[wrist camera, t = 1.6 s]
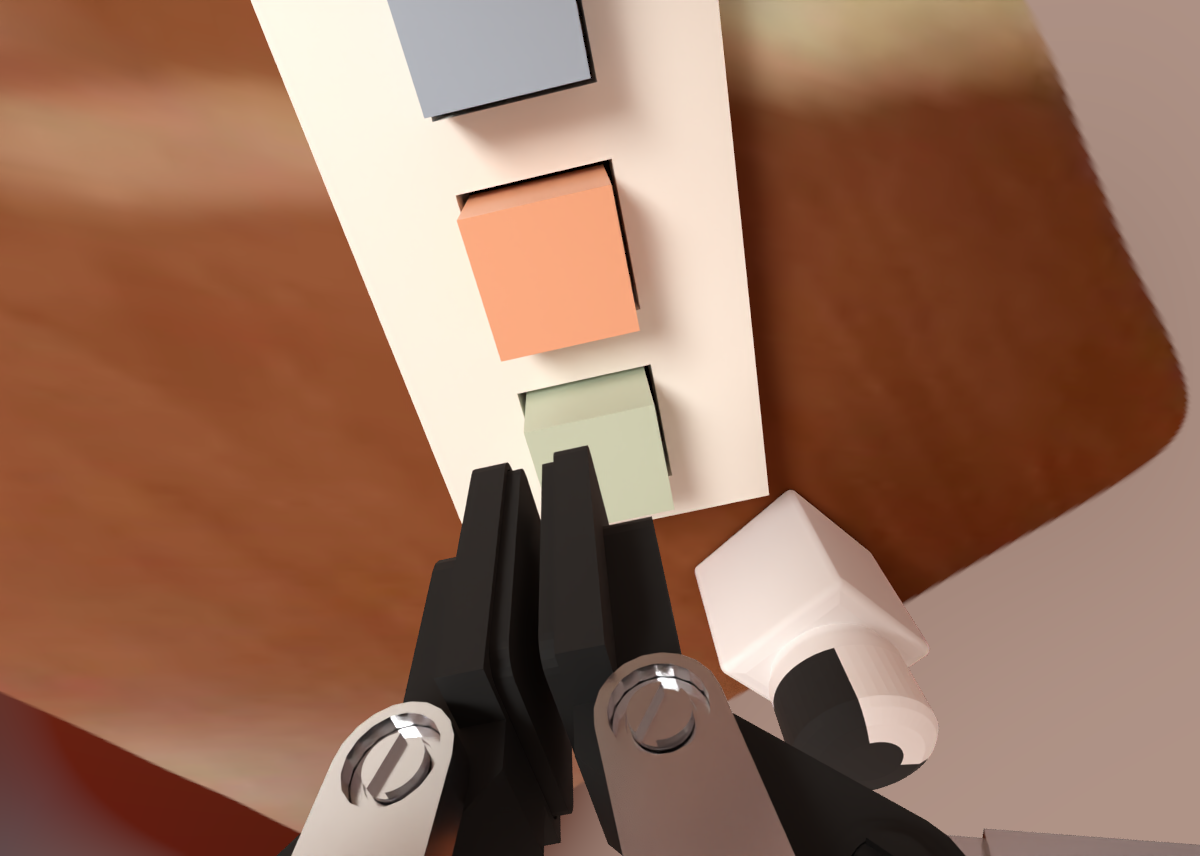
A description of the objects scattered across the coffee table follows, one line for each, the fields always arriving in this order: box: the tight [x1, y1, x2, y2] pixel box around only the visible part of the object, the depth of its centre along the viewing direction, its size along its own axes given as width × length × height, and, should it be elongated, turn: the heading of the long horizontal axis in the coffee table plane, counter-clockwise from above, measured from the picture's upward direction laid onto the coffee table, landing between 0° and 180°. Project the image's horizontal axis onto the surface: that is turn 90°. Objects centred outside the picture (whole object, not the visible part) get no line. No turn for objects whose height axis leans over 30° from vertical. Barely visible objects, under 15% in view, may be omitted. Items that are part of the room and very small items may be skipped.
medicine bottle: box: [695, 490, 939, 790], centre depth 32 cm, size 7×7×12 cm
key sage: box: [524, 366, 675, 523], centre depth 28 cm, size 5×5×4 cm
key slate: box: [387, 0, 591, 119], centre depth 20 cm, size 5×5×4 cm
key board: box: [251, 0, 769, 525], centre depth 26 cm, size 26×14×3 cm, turn 12°
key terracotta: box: [457, 164, 640, 362], centre depth 24 cm, size 5×5×4 cm
